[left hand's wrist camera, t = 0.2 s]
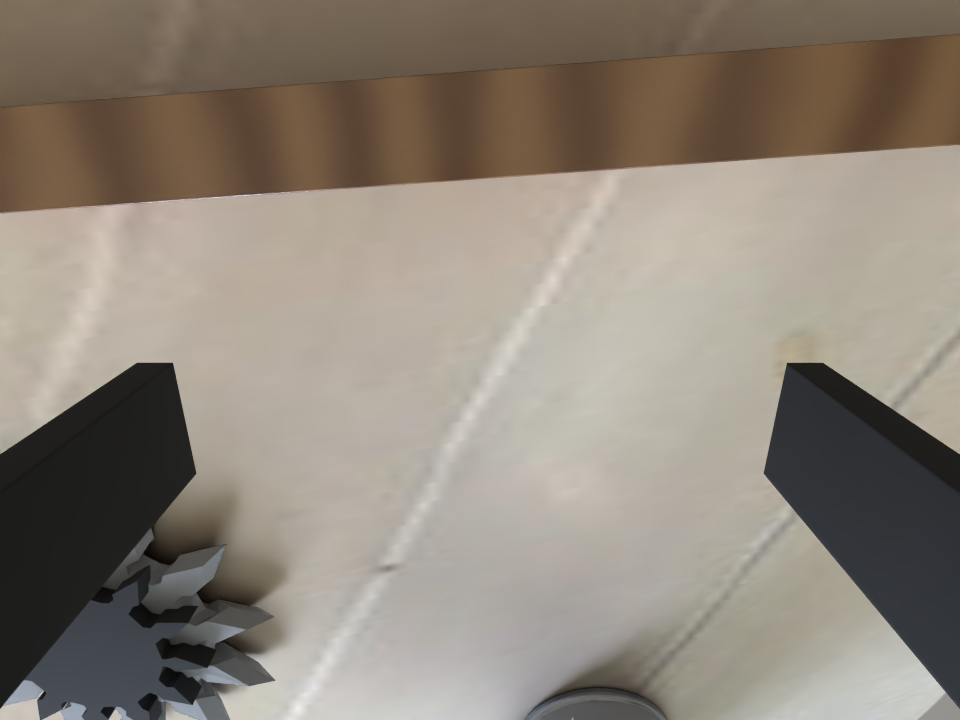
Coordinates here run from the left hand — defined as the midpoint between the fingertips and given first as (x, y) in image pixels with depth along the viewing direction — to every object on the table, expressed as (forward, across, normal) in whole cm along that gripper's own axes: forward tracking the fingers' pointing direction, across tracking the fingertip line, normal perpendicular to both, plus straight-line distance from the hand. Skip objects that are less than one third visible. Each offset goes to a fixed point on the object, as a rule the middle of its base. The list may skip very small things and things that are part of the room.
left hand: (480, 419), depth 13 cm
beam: (+28, 0, -6) cm, 28 cm away
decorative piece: (+28, +32, +34) cm, 54 cm away
